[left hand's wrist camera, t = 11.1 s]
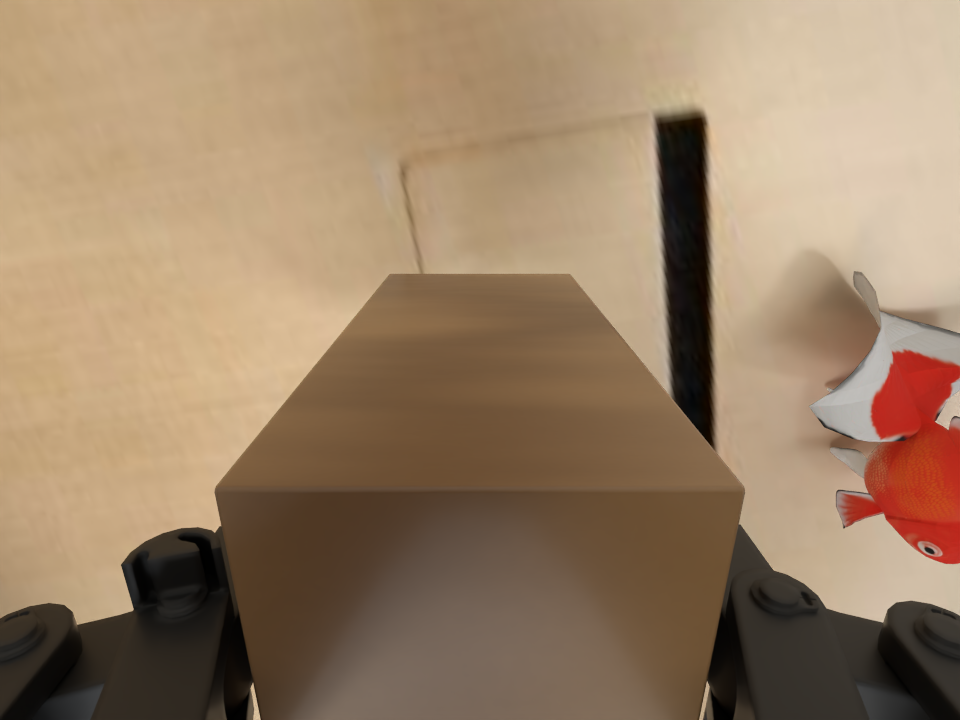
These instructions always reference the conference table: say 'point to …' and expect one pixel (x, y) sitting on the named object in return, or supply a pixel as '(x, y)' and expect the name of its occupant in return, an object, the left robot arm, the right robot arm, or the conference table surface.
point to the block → (479, 518)
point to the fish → (902, 431)
